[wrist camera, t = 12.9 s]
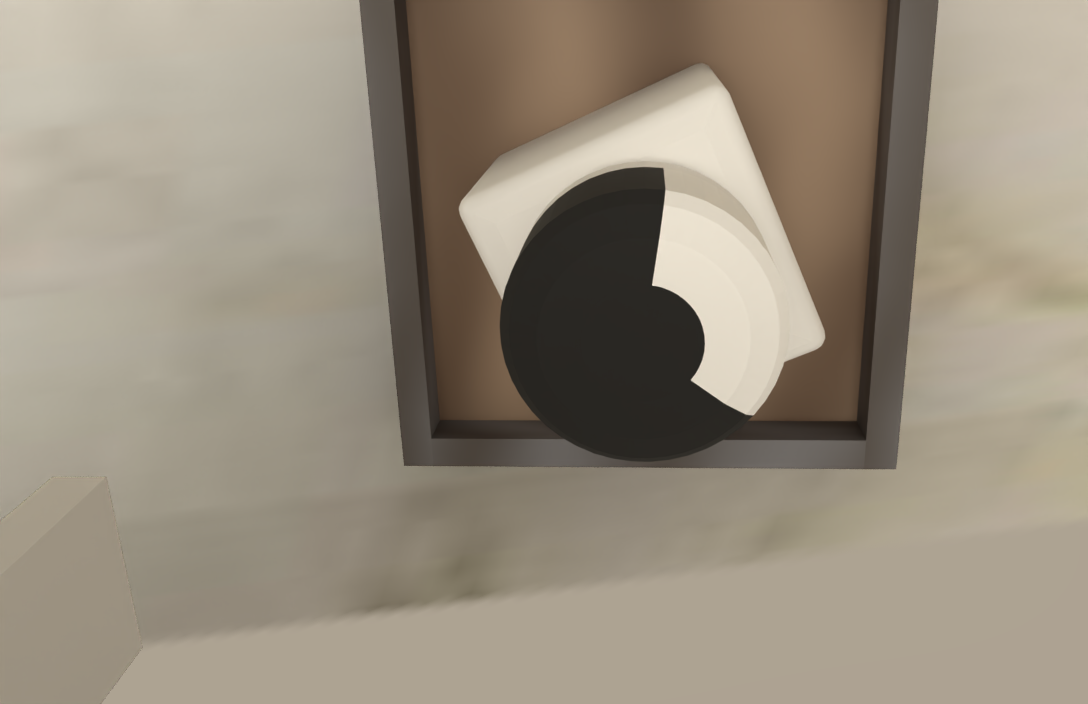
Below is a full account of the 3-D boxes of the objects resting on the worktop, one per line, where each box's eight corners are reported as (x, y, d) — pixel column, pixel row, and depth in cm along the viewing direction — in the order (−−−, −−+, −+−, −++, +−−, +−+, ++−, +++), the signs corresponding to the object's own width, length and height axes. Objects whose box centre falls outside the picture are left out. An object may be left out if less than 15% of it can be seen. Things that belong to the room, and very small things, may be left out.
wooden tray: (419, 434, 36) (404, 465, 34) (377, -46, 31) (354, -48, 28) (878, 436, 34) (895, 469, 32) (920, -70, 29) (945, -75, 27)
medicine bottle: (586, 355, 33) (557, 544, 22) (492, 157, 31) (407, 256, 20) (793, 271, 32) (873, 429, 20) (706, 57, 30) (743, 103, 18)
